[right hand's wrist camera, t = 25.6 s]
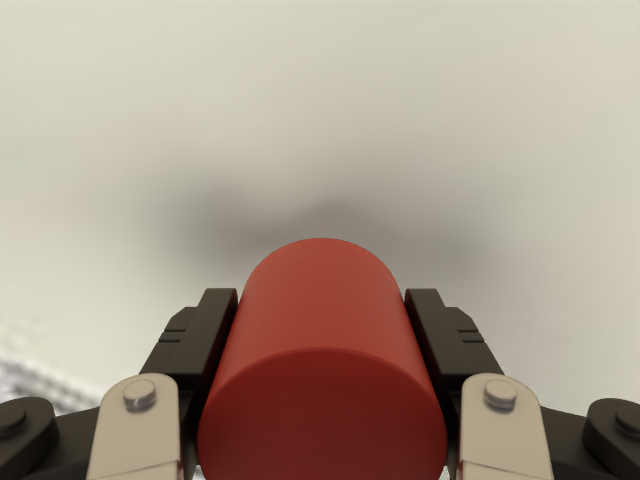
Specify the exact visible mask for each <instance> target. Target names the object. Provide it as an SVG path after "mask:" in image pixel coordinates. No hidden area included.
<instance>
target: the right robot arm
mask: <svg viewBox="0 0 640 480" xmlns="http://www.w3.org/2000/svg"><path fill="white" fill-rule="evenodd" d="M404 304H405V307H406V310H407V313H408V316H409V319H410V322H411V325H412V327H413V330H414V333H415V336H416V339H417V342H418V345H419V348H420V350H421V353H422V356H423V359H424V362H425V365H426V368H427V370H428V373H429V376H430V379H431V382H432V385H433V388H434V391H435V393H436V396H437V399H438V402H439V405H440V408H441V411H442V414H443V416H444V420H445V424H446V428H447V437H448V448H447V457H446V461H445V464H444V466H447V468H448V471H449V475H450V479H449V480H640V404H637V403H634V402H631V401H627V400H622V399H615V398H605V399H600V400H597V401H595V402H593V403H592V404H591V405H590V406H589V409H588V413H587V417H584V416H579V415H574V414H570V413H565V412H561V411H556V410H553V409H549V408H546V407H543V406H540V404H539V401H538V398H537V397H536V395H535V394H534V393H533V391H532V390H531V389H529V388H528V387H527V386H526V385H524V384H523V383H521V382H519V381H517V380H515V379H513V378H511V377H508V376H505V375H504V373H503V371H502V369H501V368H500V366H499V364H498V363H497V361H496V359H495V358H494V356H493V354H492V352H491V351H490V349H489V347H488V346H487V344H486V343H485V342H484V339H483V337H482V335H481V334H480V333H479V332H478V329H477V327H476V325H475V323H474V322H473V320H472V318H471V317H469V316H468V315H467V314H465V313H464V312H463V311H461V310H460V309H459V308H457V307H445V305H444V303H443V301H442V300H441V298H440V296H439V294H438V292H437V290H436V289H407V290H406V293H405V300H404ZM237 308H238V296H237V291H236V289H235V288H207V289H206V290H205V292H204V294H203V296H202V298H201V300H200V302H199V304H198V306H197V307H185V308H184V309H182V310H181V311H180V312H178V313H177V314H175V315H174V316H173V317H171V319H170V321H169V323H168V324H167V326H166V328H165V330H164V332H163V333H162V335H161V336H160V338H159V340H158V343H156V345H155V347H154V349H153V350H152V352H151V354H150V355H149V357H148V359H147V361H146V362H145V364H144V366H143V368H142V369H141V371H140V373H139V375H135V376H132V377H129V378H127V379H125V380H123V381H121V382H119V383H117V384H116V385H114V386H113V387H112V388H111V389H109V390H108V391H107V393H106V394H105V395H104V397H103V398H102V401H101V404H100V406H99V407H96V408H92V409H89V410H84V411H80V412H75V413H71V414H66V415H62V416H57V417H56V416H55V413H54V409H53V406H52V404H51V403H50V402H49V401H48V400H46V399H43V398H39V397H23V398H18V399H13V400H10V401H7V402H4V403H1V404H0V480H192V478H193V475H194V472H195V468H196V465H200V463H199V459H198V453H197V432H198V426H199V422H200V419H201V416H202V413H203V410H204V407H205V404H206V401H207V398H208V395H209V392H210V389H211V386H212V383H213V380H214V377H215V374H216V371H217V368H218V365H219V362H220V359H221V356H222V353H223V350H224V347H225V344H226V341H227V338H228V335H229V332H230V329H231V326H232V323H233V320H234V317H235V314H236V311H237Z"/></svg>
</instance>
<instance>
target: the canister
mask: <svg viewBox="0 0 640 480" xmlns="http://www.w3.org/2000/svg"><path fill="white" fill-rule="evenodd" d="M447 448H448V437H447V428H446V424H445V420H444V416H443V414H442V411H441V408H440V405H439V402H438V399H437V396H436V393H435V391H434V388H433V385H432V382H431V379H430V376H429V373H428V370H427V368H426V365H425V362H424V359H423V356H422V353H421V350H420V348H419V345H418V342H417V339H416V336H415V333H414V330H413V327H412V325H411V322H410V319H409V316H408V313H407V310H406V307H405V304H404V302H403V299H402V296H401V293H400V290H399V287H398V285H397V283H396V280H395V278H394V277H393V275H392V274H391V272H390V271H389V269H388V268H387V267H386V266H385V265H384V263H383V262H381V261H380V260H379V259H378V258H377V257H376V256H375V255H373V254H372V253H370V252H369V251H367V250H366V249H364V248H362V247H360V246H358V245H355V244H352V243H349V242H347V241H342V240H338V239H329V238H313V239H306V240H301V241H297V242H293V243H290V244H288V245H286V246H283V247H281V248H279V249H278V250H276V251H274V252H272V253H271V254H270V255H269V256H267V257H266V258H265V259H263V261H262V262H261V263H260V264H259V265H258V266H257V267H256V268H255V269H254V271H253V272H252V273H251V275H250V277H249V279H248V280H247V282H246V285H245V287H244V290H243V293H242V296H241V299H240V302H239V305H238V308H237V311H236V314H235V317H234V320H233V323H232V326H231V329H230V332H229V335H228V338H227V341H226V344H225V347H224V350H223V353H222V356H221V359H220V362H219V365H218V368H217V371H216V374H215V377H214V380H213V383H212V386H211V389H210V392H209V395H208V398H207V401H206V404H205V407H204V410H203V413H202V416H201V419H200V422H199V426H198V432H197V453H198V459H199V463H200V466H201V469H202V472H203V475H204V477H205V479H206V480H439V478H440V475H441V473H442V471H443V468H444V464H445V461H446V457H447Z"/></svg>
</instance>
